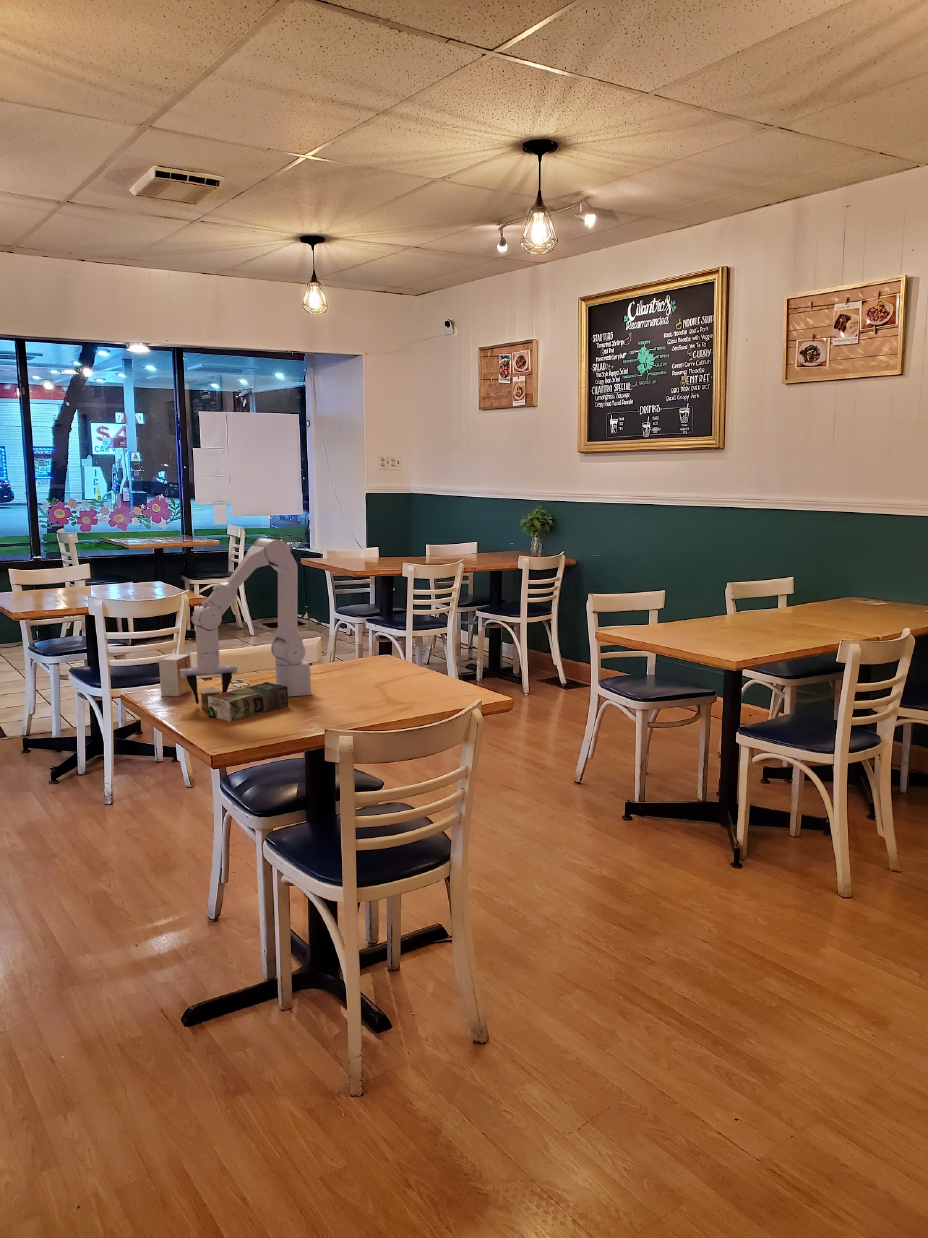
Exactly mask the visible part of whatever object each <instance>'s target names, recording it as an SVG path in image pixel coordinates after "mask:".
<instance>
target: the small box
mask: <svg viewBox="0 0 928 1238" xmlns="http://www.w3.org/2000/svg"><path fill="white" fill-rule="evenodd" d="M158 664H159V665H158V666H159V669H158V670H159V680H160V681H159V682H160V683H159V684H160V685H159V686H160V696H161V697H181V696H182V695H184V694H186V693H188V692H191V691H192V689H191V687H190V685H189V683H188V681H187V678H186V677H185V678H181V675H180V669H188V668H192V667H191V665H192V664H191V654H182V653H181V654H179V653H177V654H176V653H173V654H170V655H168V656H166V657H163V658H160V659H158ZM192 692H193V691H192Z"/></svg>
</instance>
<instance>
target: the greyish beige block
mask: <svg viewBox="0 0 928 1238" xmlns="http://www.w3.org/2000/svg"><path fill="white" fill-rule="evenodd" d="M215 694H220V690H219V688H218V687H217V688H205V689H200V699H201V701H200V702H201V708H202V710H203V709H206V710H207V709H208V708H209V707H208V696H212V695H215Z"/></svg>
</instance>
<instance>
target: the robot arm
mask: <svg viewBox="0 0 928 1238" xmlns="http://www.w3.org/2000/svg"><path fill="white" fill-rule="evenodd" d="M265 566H270V567H272V568H273V570H275V571H276V572H277V629H276V630H275V632H274V633H273V641H272V643H271V644H270V645H271V646H270V651H271V654H272V656H273V657H274V658H275V681H276V682H275V684H277V685H283V686H287V687H288V691H287V692H288V698H290V697H298V696H299V697H300V696H309V695H310V696H311V695H312V681H311V679H312V678H311V665H310V662H309V661H303V659H304V658H305V657H306V647H305V645H304V643H303V636H302V634H301V632H300V631H299V627H298V624H299V623H298V618H299V617H298V609H299V608H298V594H299V593H298V589H299V587H298V583H299V582H298V581H299V579H298V577H299V576H298V575H299V574H298V570H299V569H298V563H297V561H296V559H295V557H294V556H293V554H292V552H291V546H289V545H288V544H287V543H285V542H284V541H283V540H281V539H278V538H277V539H275V538H274V539H273V538H267V537H260V538H257V539H256V540H255V541H254V543H253V545H251V546H250V547H249V548H248V550H247V552H246V554H245V555H244V557H243V558H242V560H241V561H240V563H239V564H238V565H237V567H236V568H235V570H234V571H233V572H232V574H231V575H230V576H229V578H228V579H227V580H226V581H225V582H221V583H219V584H218V585H216V584H215V585H214V586H213V587H212V590H213V591H212V592H211V593H210V595H209V596H208V597H206V599H205V600H203V601H202V602H201V605H200V606H197V608H195V609H194V611H193V612H192V616H191V617H190V619H191V622H192V624H193V625H194V626H195V627H194V628H195V645H196V646H195V647H196V661H197V662H196V663H197V664H196V665H197V666H196V667H191V668H188V669H180V675H181V678H185V677H186V678H187V681H188V683H189V685H190V687H191V689H192V694H193V696H194V700H195V704H197V705H198V704H199V703H200V701H199V699H200V698H199V694H198V679H197V677H202V676H217V675H221V688H222V689H221V693H224V692H228V689H229V686H230V683H231V681H232V678H233V675H238V666H237V664H235V665H234V664H233V665H221V663H220V662H221V661H220V646H219V645H220V643H219V626H220V625H221V623H222V616H223V615H224V614H225V612H226V611H227V610H228V609H229V608H230V607H231V605H232V604H233V602H234V601H235V600H236V599H237V597H238V589H239V588H240V587H241V585H243V584H244V582H245V581H246V580H247V579H249V577H250V576H251V574H252V573H253V572H254V571H255V570H256V569H258V568H262V567H265Z"/></svg>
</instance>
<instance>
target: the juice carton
mask: <svg viewBox="0 0 928 1238" xmlns="http://www.w3.org/2000/svg"><path fill="white" fill-rule="evenodd" d="M287 691H288V687H287V686H283V685H277V684H276V683H271V682H268V681H265V682H262V683H259V684H255V685H251V686H245V687H241V688H238V689H233V690H230V691H227V692H224V693H222V692H219V694H215V695H212V696H208V707H209V708H208V709H206V715H207V716H209V717H210V716H211V717H214V718H217V719H219V720H224V721H226V722H233V720H234V721H238V720H243V719H244V718H247V717H253V716H257V715H261V714H264V713H269V712H272V711H276V710H280V709H283V708H287V707H289V697H288V692H287ZM252 715H253V716H252Z"/></svg>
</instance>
